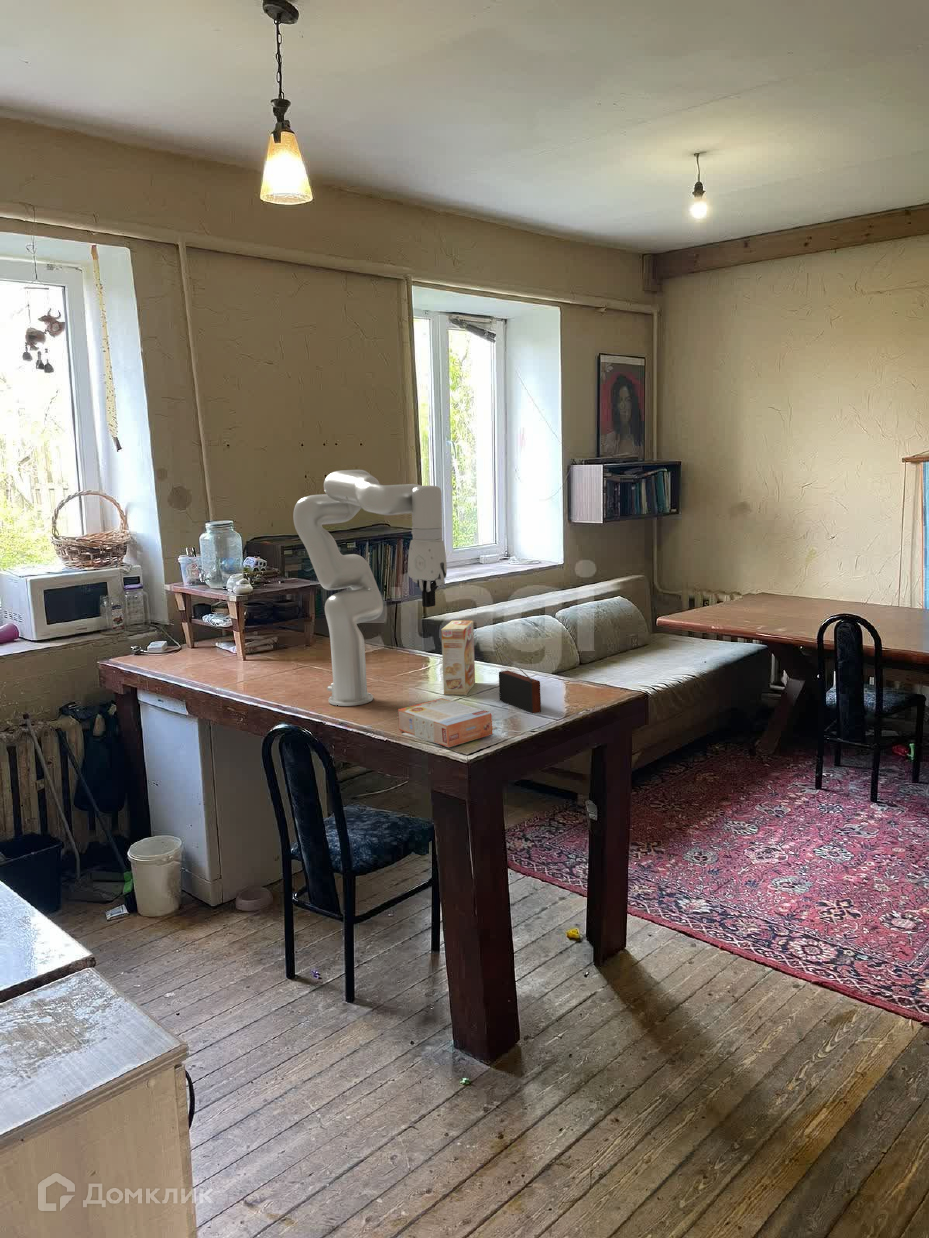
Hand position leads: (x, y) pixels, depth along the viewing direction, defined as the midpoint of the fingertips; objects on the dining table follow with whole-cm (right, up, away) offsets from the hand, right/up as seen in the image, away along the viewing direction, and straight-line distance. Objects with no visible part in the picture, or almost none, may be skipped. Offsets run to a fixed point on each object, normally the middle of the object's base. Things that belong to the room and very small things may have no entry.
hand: (428, 606), depth 235 cm
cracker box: (-2, -28, 0) cm, 28 cm away
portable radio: (+24, -27, +16) cm, 40 cm away
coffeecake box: (+8, -24, +37) cm, 45 cm away
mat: (+5, -32, -6) cm, 33 cm away
